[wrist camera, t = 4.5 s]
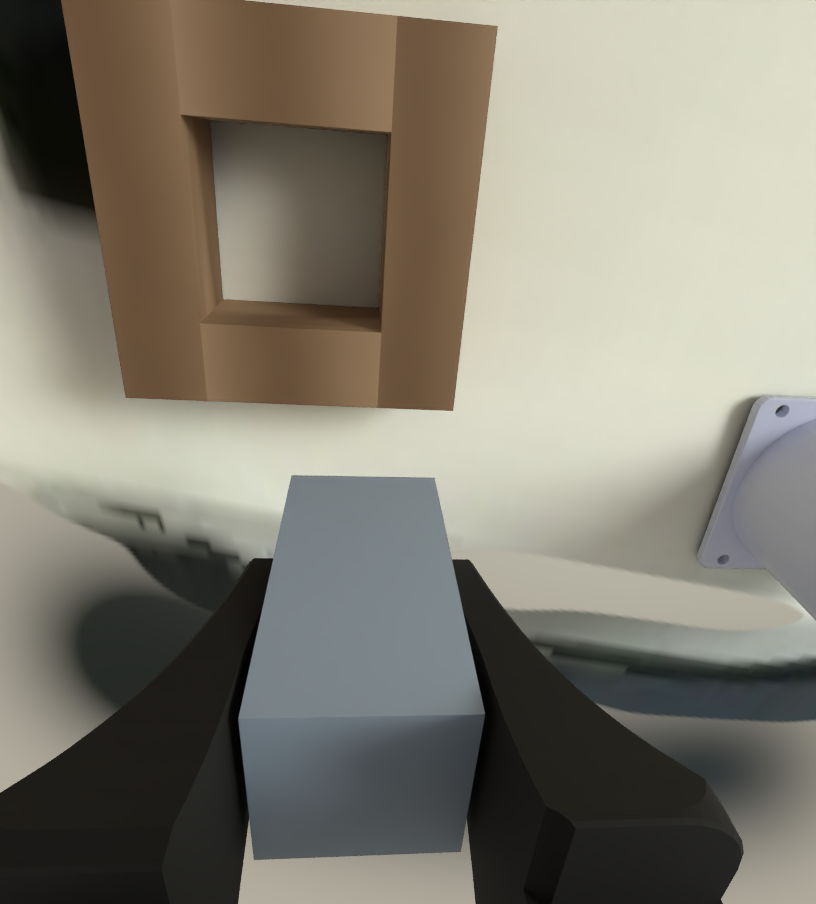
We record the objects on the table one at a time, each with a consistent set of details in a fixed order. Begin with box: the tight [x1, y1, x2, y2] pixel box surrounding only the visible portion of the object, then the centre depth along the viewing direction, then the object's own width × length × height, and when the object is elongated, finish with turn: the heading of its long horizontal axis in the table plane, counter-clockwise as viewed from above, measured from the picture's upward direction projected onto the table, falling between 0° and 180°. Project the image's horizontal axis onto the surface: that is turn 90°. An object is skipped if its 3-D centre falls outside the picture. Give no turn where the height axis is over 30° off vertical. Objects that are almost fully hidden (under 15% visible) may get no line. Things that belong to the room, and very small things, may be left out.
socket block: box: [61, 0, 498, 411], centre depth 17 cm, size 10×10×3 cm
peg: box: [238, 475, 485, 860], centre depth 12 cm, size 4×4×7 cm
